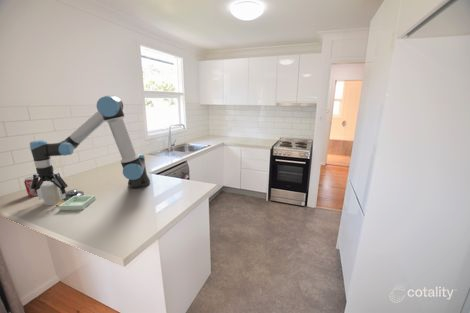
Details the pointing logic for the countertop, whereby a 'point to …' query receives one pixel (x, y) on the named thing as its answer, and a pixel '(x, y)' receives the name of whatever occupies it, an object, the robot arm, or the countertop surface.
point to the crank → (71, 192)
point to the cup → (50, 193)
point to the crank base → (74, 195)
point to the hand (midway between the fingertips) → (52, 198)
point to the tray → (77, 203)
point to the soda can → (28, 186)
